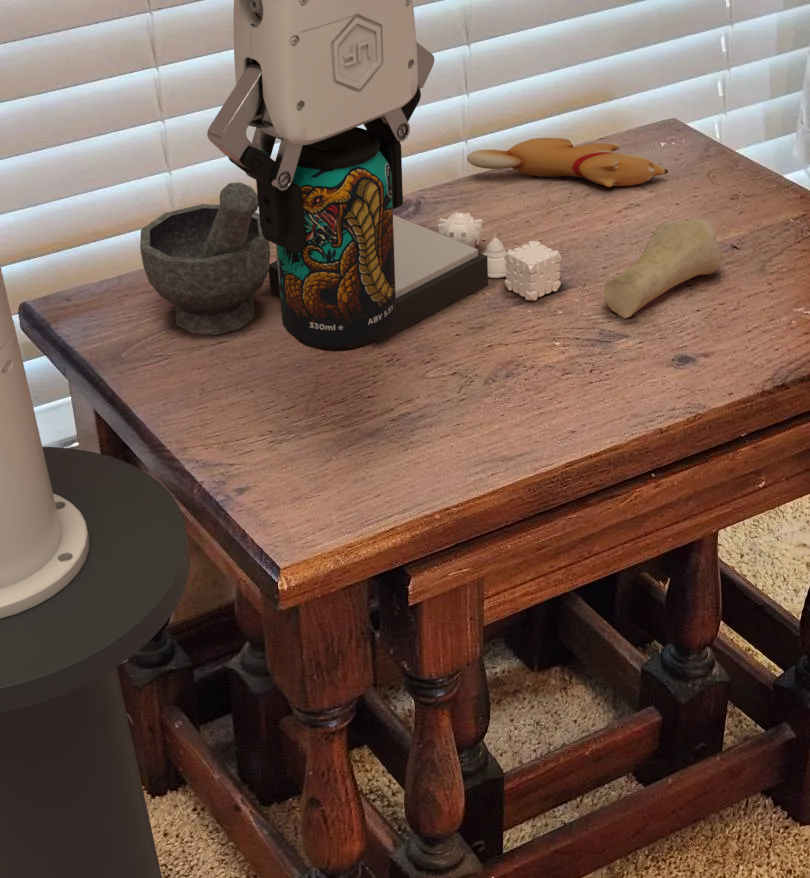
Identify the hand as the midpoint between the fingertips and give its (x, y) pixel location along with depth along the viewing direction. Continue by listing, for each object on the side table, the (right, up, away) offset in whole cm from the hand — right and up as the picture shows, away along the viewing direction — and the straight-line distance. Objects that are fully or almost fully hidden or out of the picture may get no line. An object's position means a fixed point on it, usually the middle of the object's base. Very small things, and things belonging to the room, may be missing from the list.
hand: (333, 220), depth 92 cm
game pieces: (+11, +2, +31) cm, 33 cm away
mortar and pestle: (-10, -2, +27) cm, 29 cm away
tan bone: (+23, 0, +27) cm, 36 cm away
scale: (+2, +1, +29) cm, 29 cm away
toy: (+18, +15, +44) cm, 50 cm away
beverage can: (0, -6, +4) cm, 7 cm away
